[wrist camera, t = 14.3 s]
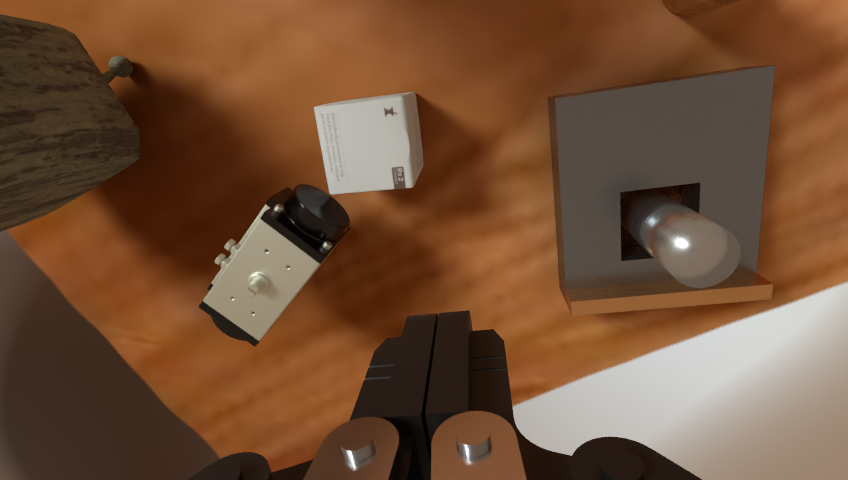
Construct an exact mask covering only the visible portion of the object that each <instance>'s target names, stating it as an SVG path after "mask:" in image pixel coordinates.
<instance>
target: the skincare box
mask: <svg viewBox="0 0 848 480" xmlns="http://www.w3.org/2000/svg"><path fill="white" fill-rule="evenodd" d="M314 111H315V117H316V123H317V128H318V134H319V140H320V145H321V150H322V156H323V162H324V167H325V172H326V178H327V183H328V188H329V193H330V194H343V193H354V192H366V191H378V190H390V189H402V188H413V187H414V185H415V183H416V181H417V178H418V176H419V174H420V172H421V170H422V168H423V166H424V162H423V150H422V141H421V131H420V123H419V115H418V107H417V100H416V94H415V92H407V93H400V94H392V95H383V96H376V97H368V98H361V99H353V100H346V101H340V102H335V103H330V104H324V105H320V106H316V107H314Z"/></svg>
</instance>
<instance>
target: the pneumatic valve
mask: <svg viewBox="0 0 848 480" xmlns="http://www.w3.org/2000/svg"><path fill="white" fill-rule="evenodd" d="M349 223H350V220H349V216H348V214H347V213H346V211H345V210H344V208H343V207H342V206H341V205H340V204H339V203H338V202H337V201H336V200H335V199H334V198H332V197H331V196H330V195H328V194H327V193H325V192H323V191H322V190H320V189H318V188H316V187H313V186H310V185H305V184H300V185H297V186H296V187H295V188H294V190H291V189H290V188H288V187H287V188H286V189H284V190H282V191H280V192H278V193H277V194H275V195H273V196H271V197H270V198H269V200H268V201H267V203H266V204H265V206H264V207H263V209H262V210H261V211H260V213H259V214H258V216H257V217H256V219H255V220H254V222H253V223H252V225H251V226H250V227H249V229H248V230H247V232H246V233H245V235H244V236H243V238H242V239H241V240H240V242H239V243H237V244H236V245H234V244H235V243H236V241H234V240H233V239H230V240H229V241H228V242H227V243H226V245H225V246H224V248H225V249H226V250H228V251H229V250H230V249H231V251H230V252H231V255H230V256H229V258H226V259H225V257H226V256H225V255H224V254H222V253H221V254H220V255H219V256H218V257H217V258H216V259H215V261H214V262H215V263H216V264H217V265H219V264H220V263H222V264H221V265H220V267H221V269H220V271H219V272H218V274H217V275H216V277H215V278H214V279H213V281H212V282H211V284H210V285H209V287H208V288H207V289H208V290H209V292H208V294H207V295H206V297H205V298H204V300H203V301H202V303H201V304H200V305H199V308H201V309H202V310H204V311H205V312H206V313H208V314H209V315H211V317H212V320H213V322H214V323H215V325H216V326H217V327H218V328H219V329H220V330H221V331H222V332H223V333H225V334H226V335H228V336H230V337H232V338H234V339H238V340H242V341H247V342H249V343H250V344H252V345H253V346H256V345H257V344H258V343H259V342H260V340H261V339H262V338H263V337H264V336H265V334H266V333H267V332H268V331H269V329H270V328H271V327H272V326H273V325H274V323H275V322H276V321H277V320H278V318H279V317H280V316H281V315H282V314H283V312H284V311H285V310H286V309H287V307H288V306H289V305H290V304H291V302H292V301H293V300H294V299H295V297H296V296H297V295H298V294H299V292H300V291H301V290H302V288H303V287H304V286H305V285H306V283H307V282H308V281H309V280H310V278H311V277H312V276H313V275H314V273H315V272H316V271H317V270H318V268H319V267H320V266H321V264H322V263H323V262H324V261H325V259H326V258H327V257H328V256H329V254H330V253H331V252H332V251H333V249H334V248H335V247H336V245H337V244H338V243H339V242H340V240H341V239H342V238H343V237H344V235H345V234H346V233H347V232H348V230H349V229H350V227H348V226H349Z"/></svg>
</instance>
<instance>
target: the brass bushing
mask: <svg viewBox="0 0 848 480" xmlns="http://www.w3.org/2000/svg"><path fill="white" fill-rule="evenodd" d="M737 1H740V0H663V2H664V4H665V6H666V7H667V8H668V9H669V10H670V11H671V12H672V13H674V14H676V15H680V16H692V15H696V14H699V13H702V12H705V11H708V10H712V9H715V8H718V7H721V6H724V5H727V4H730V3H733V2H737Z"/></svg>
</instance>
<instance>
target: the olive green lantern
mask: <svg viewBox="0 0 848 480" xmlns="http://www.w3.org/2000/svg"><path fill="white" fill-rule="evenodd" d="M109 67H110V70H109V71H107V72H105V73H103V74H101V72H100V71H99V69H98V68H97V66H96V65H95V63H94V62H93V60H92V59H91V57H90V56H89V54H88V53H87V51H86V50H85V48H84V47H83V45H82V44H81V42H80V41H79V39H78V38H77V36H76V35H74V34H73V33H71V32H69V31H68V30H66V29H63V28H60V27H57V26H53V25H50V24H46V23H41V22H36V21H31V20H26V19H21V18H15V17H10V16H5V15H0V231H3V230H6V229H9V228H12V227H15V226H18V225H21V224H24V223H27V222H29V221H32V220H34V219H37V218H40V217H42V216H44V215H46V214H48V213H50V212H52V211H54V210H56V209H58V208H60V207H62V206H63V205H65V204H67V203H69V202H70V201H72V200H74V199H76V198H77V197H79V196H81V195H82V194H84V193H86V192H88V191H89V190H91V189H93V188H95V187H96V186H98V185H100V184H101V183H103V182H104V181H106V180H108V179H109V178H111V177H112V176H114V175H116V174H117V173H119V172H121V171H122V170H124V169H125V168H127V167H128V166H130V165H131V164H133V163H134V162H135V161H137V160H138V159H139V158H140V148H139V129H138V127H137V126H136V124H135V123H134V121H133V120H132V118H131V117H130V115H129V114H128V112H127V111H126V109H125V108H124V106H123V105H122V103H121V102H120V100H119V99H118V98H117V96H116V95H115V93H114V92H113V90H112V89H111V87H110V86H109V83H110V82H111V81H112V80H113V79H114V78H115V77H116V76H119V77H122V78H123V77H127V76H130V75H131V73H132V71H133V66H132V63H131V62H130V61H129V60H128V59H127V58H125V57H122V56H115V57H112V58H111V60H110V62H109Z"/></svg>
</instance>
